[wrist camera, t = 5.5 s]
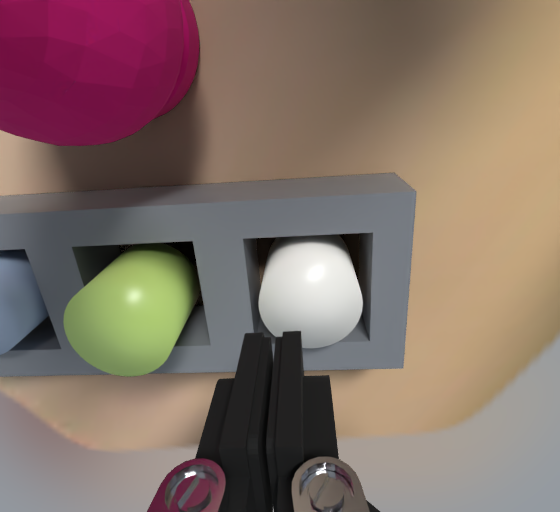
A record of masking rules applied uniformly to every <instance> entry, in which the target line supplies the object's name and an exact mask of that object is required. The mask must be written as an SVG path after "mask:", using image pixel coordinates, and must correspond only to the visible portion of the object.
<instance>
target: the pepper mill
mask: <svg viewBox="0 0 560 512" xmlns="http://www.w3.org/2000/svg"><path fill="white" fill-rule="evenodd" d="M198 57H199V35H198V28H197V23H196V19H195V15H194V12H193V10H192V7H191V4H190V2H189V0H0V130H2V131H5V132H8V133H11V134H13V135H16V136H20V137H24V138H28V139H32V140H35V141H40V142H44V143H49V144H54V145H58V146H87V145H100V144H105V143H111V142H115V141H117V140H120V139H122V138H125V137H127V136H130V135H132V134H134V133H135V132H137V131H139V130H140V129H141V128H142V127H144V126H145V125H146V124H147V123H149V122H150V121H151V120H153V119H155V118H157V117H159V116H161V115H163V114H166V113H167V112H169V111H170V110H171V109H173V108H174V107H175V106H176V105H177V104H178V103H179V102H180V101H181V100H182V98H183V97H184V96H185V94H186V93H187V91H188V89H189V87H190V86H191V84H192V81H193V79H194V76H195V73H196V69H197V65H198Z"/></svg>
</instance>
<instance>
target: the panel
mask: <svg viewBox="0 0 560 512" xmlns="http://www.w3.org/2000/svg"><path fill="white" fill-rule="evenodd" d="M415 204H416V191H415V190H414V189H413V188H412V187H411V186H410V185H408V184H407V183H406V182H405V181H404V180H402V179H401V178H400V177H399V176H398V175H396V174H395V173H381V174H364V175H347V176H330V177H313V178H296V179H279V180H263V181H246V182H229V183H212V184H195V185H178V186H161V187H144V188H127V189H111V190H94V191H77V192H60V193H43V194H26V195H9V196H0V250H16V249H25V251H26V254H27V256H28V259H29V262H30V265H31V267H32V270H33V273H34V275H35V278H36V281H37V284H38V286H39V289H40V292H41V295H42V297H43V300H44V303H45V305H46V308H47V311H48V314H49V316H48V317H47V318H46V319H45V320H44V321H42V322H41V323H40V324H39V325H38V326H37V327H36V328H34V329H33V330H32V331H31V332H30V333H29V334H28V335H26V336H25V337H24V338H23V339H22V340H21V341H20V342H18V343H17V344H16V345H15V346H14V347H13V348H12V349H10V350H9V351H8V352H6V353H4V354H1V355H0V377H2V376H52V375H101V374H110V373H107V372H104V371H102V370H100V369H97V368H96V367H94V366H92V365H91V364H89V363H88V362H86V361H85V360H84V359H83V358H82V357H80V355H79V354H78V353H77V352H76V351H75V350H74V349H73V347H72V346H71V344H70V342H69V341H68V338H67V336H66V333H65V330H64V323H63V321H64V312H65V309H66V307H67V305H68V303H69V301H70V300H71V299H72V298H73V296H75V295H76V294H77V293H78V292H79V291H80V290H81V289H82V288H84V287H85V286H86V285H87V284H88V283H89V282H90V281H91V280H93V279H94V278H95V277H96V276H97V275H98V274H99V273H100V272H102V271H103V270H104V269H105V268H106V267H107V266H108V265H109V264H111V263H112V262H113V261H114V260H115V259H116V258H117V257H119V256H120V255H121V253H120V250H119V246H118V245H121V244H142V243H163V242H184V241H193V246H194V252H195V257H196V263H197V269H198V275H199V280H200V286H201V292H202V298H203V303H204V306H194V307H193V309H192V311H191V313H190V315H189V317H188V319H187V321H186V323H185V325H184V327H183V329H182V331H181V333H180V335H179V337H178V339H177V341H176V343H175V345H174V347H173V349H172V351H171V353H170V355H169V357H168V358H167V360H166V361H165V362H164V364H162V365H161V366H160V367H159V368H158V369H156V370H154V371H152V372H150V373H148V374H151V373H200V372H236V370H237V366H238V361H239V357H240V352H241V348H242V343H243V339H244V335H245V333H260V332H263V333H264V337H271V342H272V352H273V361H274V351H275V340H276V337H275V336H274V335H273V334H272V333H271V332H270V331H269V330H268V329H267V327H266V326H265V324H264V322H263V320H262V318H261V315H260V312H259V295H260V290H261V282H260V272H259V262H258V253H257V243H256V238H268V237H289V236H310V235H331V234H352V233H359V287H360V290H361V294H362V300H363V307H362V313H361V316H360V319H359V321H358V323H357V325H356V326H355V328H354V329H353V330H352V331H351V332H350V333H349V334H348V335H347V336H346V337H344V338H343V339H342V340H340V341H338V342H336V343H334V344H332V345H329V346H325V347H320V348H302V352H303V367H304V370H349V369H398V368H403V364H404V351H405V338H406V324H407V311H408V298H409V284H410V271H411V258H412V244H413V231H414V218H415Z"/></svg>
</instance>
